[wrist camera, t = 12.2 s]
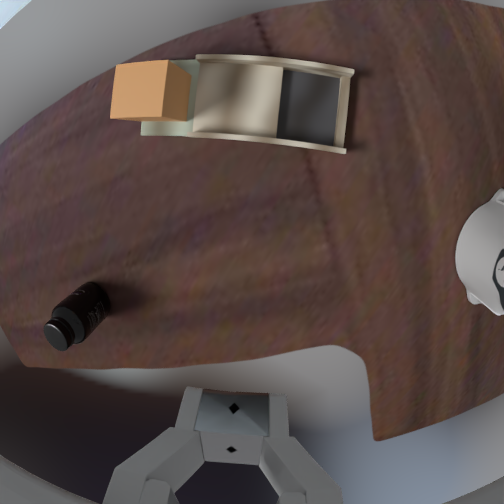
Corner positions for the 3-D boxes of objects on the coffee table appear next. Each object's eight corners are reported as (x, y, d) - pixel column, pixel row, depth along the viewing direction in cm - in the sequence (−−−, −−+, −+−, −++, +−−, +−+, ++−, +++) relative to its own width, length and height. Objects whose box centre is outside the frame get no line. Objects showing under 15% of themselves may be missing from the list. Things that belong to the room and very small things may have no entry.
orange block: (191, 75, 32) (168, 59, 24) (186, 121, 34) (161, 116, 26) (147, 77, 32) (116, 64, 24) (142, 121, 34) (110, 118, 27)
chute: (348, 75, 31) (354, 69, 28) (340, 153, 35) (345, 154, 31) (153, 63, 33) (142, 57, 29) (145, 136, 36) (133, 136, 33)
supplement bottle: (85, 273, 44) (41, 308, 33) (117, 298, 45) (78, 339, 34) (75, 300, 47) (35, 336, 35) (104, 324, 48) (68, 364, 36)
